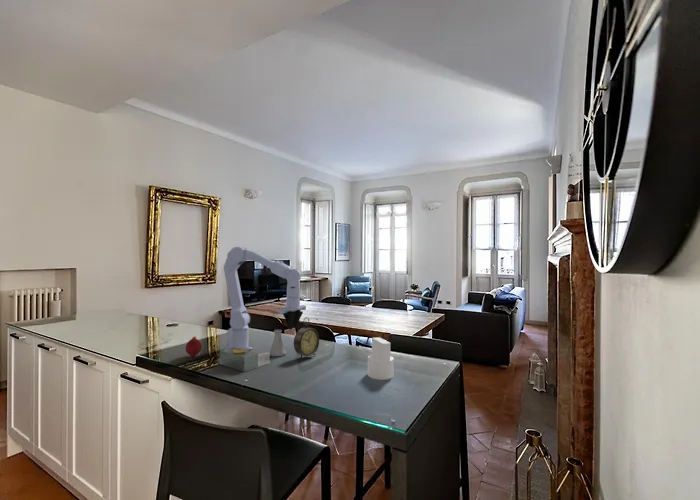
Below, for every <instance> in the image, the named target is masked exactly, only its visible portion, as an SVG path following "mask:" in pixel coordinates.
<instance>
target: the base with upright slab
mask: <svg viewBox="0 0 700 500" xmlns="http://www.w3.org/2000/svg"><path fill="white" fill-rule="evenodd" d="M394 360H395V359H394V356H392V355H391V342H390V341H388V340H386V339H384V338H382V337H378V336H377V337H372V338H371V354H370V355H368V356H367V377H369V378H371V379H373V380H380V381H381V380H382V381H383V380H391V379H392V378H394V375H395V374H394V372H395V371H394V370H395V368H394V366H395V361H394Z"/></svg>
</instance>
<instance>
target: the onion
mask: <svg viewBox="0 0 700 500" xmlns="http://www.w3.org/2000/svg"><path fill="white" fill-rule="evenodd" d="M202 348H203V346H202V342H201V341H200V340H199V339H197V336H193V337H192V338H191V339H189V340H188V341H187V342H186V345H185V352H186V354H187V355H189V356H190V357H192V358H194V357H196V356H197V355H198V354H199V353H200V352H201V351H202Z"/></svg>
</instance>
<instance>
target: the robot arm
mask: <svg viewBox="0 0 700 500" xmlns="http://www.w3.org/2000/svg"><path fill="white" fill-rule="evenodd" d="M226 256H227V257H226V259H225V263H224V265H223V271H224V276H225V281H226V287H227V292H228V296H229V297H228V298H229V302H230V307H231V310H230V320H229V325H230V328H228V329H227V332H226V336H225V347H224V348H223V350H225V349H229V348H233V347H235V348H245V347H250V346H249V335H250V334H249V331H250V329H249V328H250V327H249V323H250V322H251V316H250V314H249V313H248V310H247V307H246V306H245V305H244V300H243V299H244V298H243V294H242V290H241V284H240V279H239V274H238V269H239V268H240V266H241V265H242V264H243V263H246V261H254V262H256V263H258V264H260V265H263V266H265V267H266V268H269V269H270V272H271V273H272V274H274V275H276V276H278V277H280V278H282V279H286V281H287V284H286V285H287V286H286V306H285V307H282V308H279V309H278V314H281V315H283V317H284V320H285V322H286V326H287V329H288V330H293V329H298V326H299V322H300V319H301V317H302V315H304V314H303V313H304V312H303V311H306V310H307V305H304V304H303V305H300V303H301V282H300V280H301V278H302V275H301V274H302V273H301V271H299V269H298V268H294V267H293V266H291V265H290V266H289V265H288V264H286V263H284V261H282V260H275V261H273V260H271V259H269V258H268V257H266V256H264V255H262V254H260V253H258V252H256V251H254V250H252V249H248V248H247V247H239V246H235V247H232V248H231V249H230V251H228V252H227V255H226ZM253 348H254V347H252V346H251V347H250V350H253Z"/></svg>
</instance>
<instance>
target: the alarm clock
mask: <svg viewBox="0 0 700 500" xmlns="http://www.w3.org/2000/svg"><path fill="white" fill-rule="evenodd" d="M306 319H307V320H308V321H307V323H305V321H306ZM302 322H303V325H304V327H302V328H300V329H298V331H297V332H296V333H295V336H294V338H293V348H294V351H295V352H296V354H298V355H299V356H300V357H299V359H298V360H299V361H301V359H303V357H311V356H313V355H314V356H316V352H317V350H318V348H319V345H320V336H319V333H318V331H317V330H316V329H315V328H312V327H308V325H309V323H310V318H309V317H307V316H306V317H305V318H304V319H303V321H302Z"/></svg>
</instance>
